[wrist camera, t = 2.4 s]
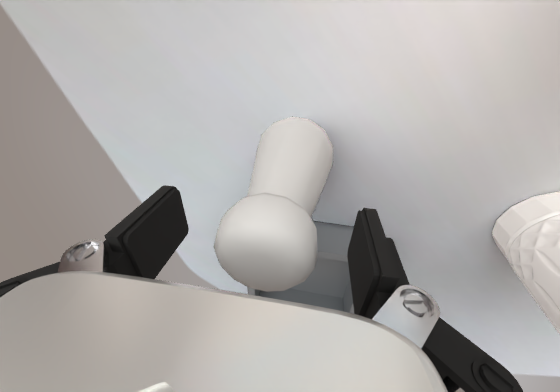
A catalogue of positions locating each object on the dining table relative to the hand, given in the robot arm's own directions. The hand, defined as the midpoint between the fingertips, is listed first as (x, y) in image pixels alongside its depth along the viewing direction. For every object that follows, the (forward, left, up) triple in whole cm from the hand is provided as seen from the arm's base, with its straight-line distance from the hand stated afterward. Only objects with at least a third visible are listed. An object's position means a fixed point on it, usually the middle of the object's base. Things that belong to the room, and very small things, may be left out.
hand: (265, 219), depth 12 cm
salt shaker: (-1, -1, -10) cm, 10 cm away
